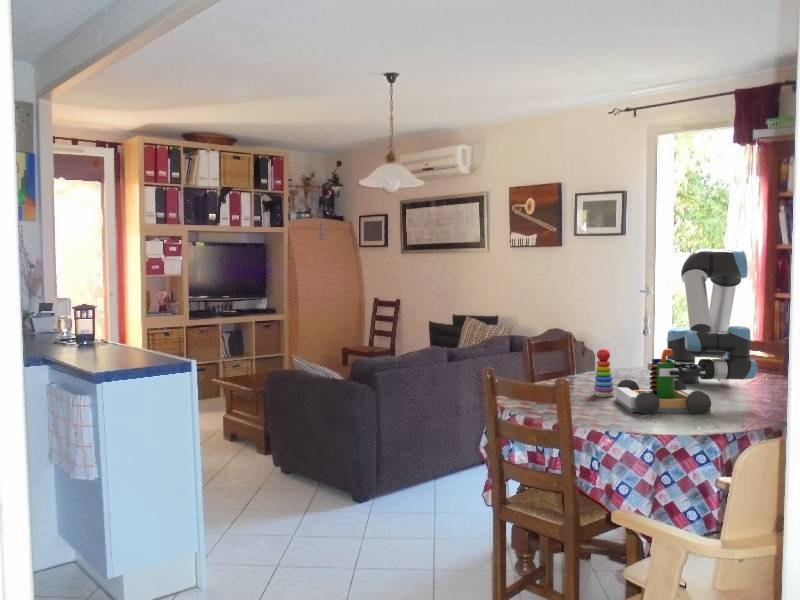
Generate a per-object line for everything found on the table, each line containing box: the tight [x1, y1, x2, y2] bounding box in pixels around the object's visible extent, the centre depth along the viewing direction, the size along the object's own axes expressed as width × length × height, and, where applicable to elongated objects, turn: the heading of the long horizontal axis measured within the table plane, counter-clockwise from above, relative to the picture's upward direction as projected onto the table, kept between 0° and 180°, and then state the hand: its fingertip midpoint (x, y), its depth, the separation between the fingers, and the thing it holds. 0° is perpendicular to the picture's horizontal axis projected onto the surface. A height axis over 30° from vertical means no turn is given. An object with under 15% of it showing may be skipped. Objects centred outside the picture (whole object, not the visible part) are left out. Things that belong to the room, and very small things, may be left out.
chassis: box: [615, 378, 712, 415], centre depth 264 cm, size 25×28×8 cm
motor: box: [649, 348, 675, 399], centre depth 264 cm, size 10×9×20 cm
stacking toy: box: [593, 348, 615, 398], centre depth 284 cm, size 8×8×19 cm
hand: (653, 369), depth 264 cm, fingers open, 13 cm apart
